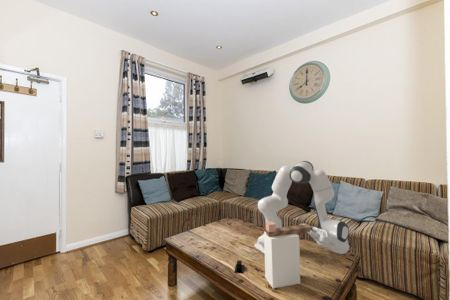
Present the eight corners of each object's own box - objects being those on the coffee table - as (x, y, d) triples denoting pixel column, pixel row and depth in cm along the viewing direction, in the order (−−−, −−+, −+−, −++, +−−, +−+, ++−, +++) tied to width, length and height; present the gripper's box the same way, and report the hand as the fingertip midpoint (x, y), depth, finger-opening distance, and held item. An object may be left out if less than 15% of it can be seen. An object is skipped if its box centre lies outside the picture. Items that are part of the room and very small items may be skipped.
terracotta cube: (268, 232, 113) (268, 224, 113) (265, 229, 117) (265, 222, 117) (275, 231, 114) (275, 224, 114) (272, 228, 118) (272, 221, 118)
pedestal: (272, 288, 110) (271, 239, 110) (265, 277, 120) (263, 231, 120) (300, 283, 114) (299, 235, 113) (290, 272, 124) (289, 228, 123)
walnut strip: (269, 237, 113) (269, 232, 113) (265, 233, 117) (265, 229, 117) (312, 231, 118) (312, 227, 118) (307, 228, 123) (307, 224, 123)
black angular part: (234, 263, 136) (234, 256, 136) (246, 264, 135) (246, 257, 135) (232, 275, 124) (232, 267, 124) (245, 276, 123) (244, 268, 123)
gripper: (334, 251, 112) (313, 241, 109) (310, 235, 132) (293, 226, 129) (339, 240, 112) (319, 230, 110) (315, 226, 132) (297, 217, 130)
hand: (304, 228), depth 120 cm, fingers open, 8 cm apart
